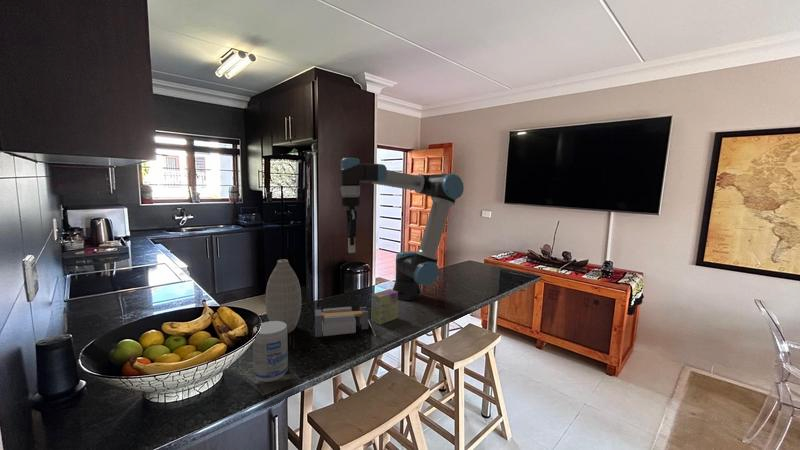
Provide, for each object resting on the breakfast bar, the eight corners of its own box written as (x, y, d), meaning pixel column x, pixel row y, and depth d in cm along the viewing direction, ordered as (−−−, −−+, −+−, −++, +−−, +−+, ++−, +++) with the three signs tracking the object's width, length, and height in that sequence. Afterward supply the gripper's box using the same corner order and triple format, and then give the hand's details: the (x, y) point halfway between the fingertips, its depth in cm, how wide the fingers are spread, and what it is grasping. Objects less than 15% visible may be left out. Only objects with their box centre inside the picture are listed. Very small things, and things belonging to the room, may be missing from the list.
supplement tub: (271, 387, 91) (270, 337, 89) (246, 379, 95) (244, 330, 93) (294, 369, 100) (294, 323, 98) (270, 362, 103) (269, 318, 102)
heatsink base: (367, 319, 138) (367, 301, 137) (376, 338, 121) (376, 317, 120) (308, 324, 132) (308, 305, 131) (309, 345, 115) (308, 324, 114)
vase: (291, 341, 117) (289, 265, 114) (259, 338, 119) (256, 263, 116) (307, 327, 130) (306, 257, 126) (278, 323, 132) (276, 255, 128)
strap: (365, 313, 130) (365, 309, 130) (367, 316, 127) (367, 312, 126) (315, 316, 125) (315, 312, 125) (315, 321, 121) (315, 316, 121)
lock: (321, 329, 125) (321, 309, 124) (322, 336, 119) (322, 315, 118) (315, 330, 124) (314, 309, 123) (315, 337, 119) (315, 316, 118)
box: (389, 314, 144) (389, 288, 143) (398, 318, 140) (398, 291, 139) (370, 320, 137) (371, 293, 135) (379, 325, 133) (380, 297, 131)
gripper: (339, 195, 139) (340, 249, 142) (343, 197, 127) (345, 256, 130) (357, 195, 141) (358, 248, 144) (362, 196, 129) (363, 255, 132)
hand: (351, 252), depth 137 cm, fingers closed
